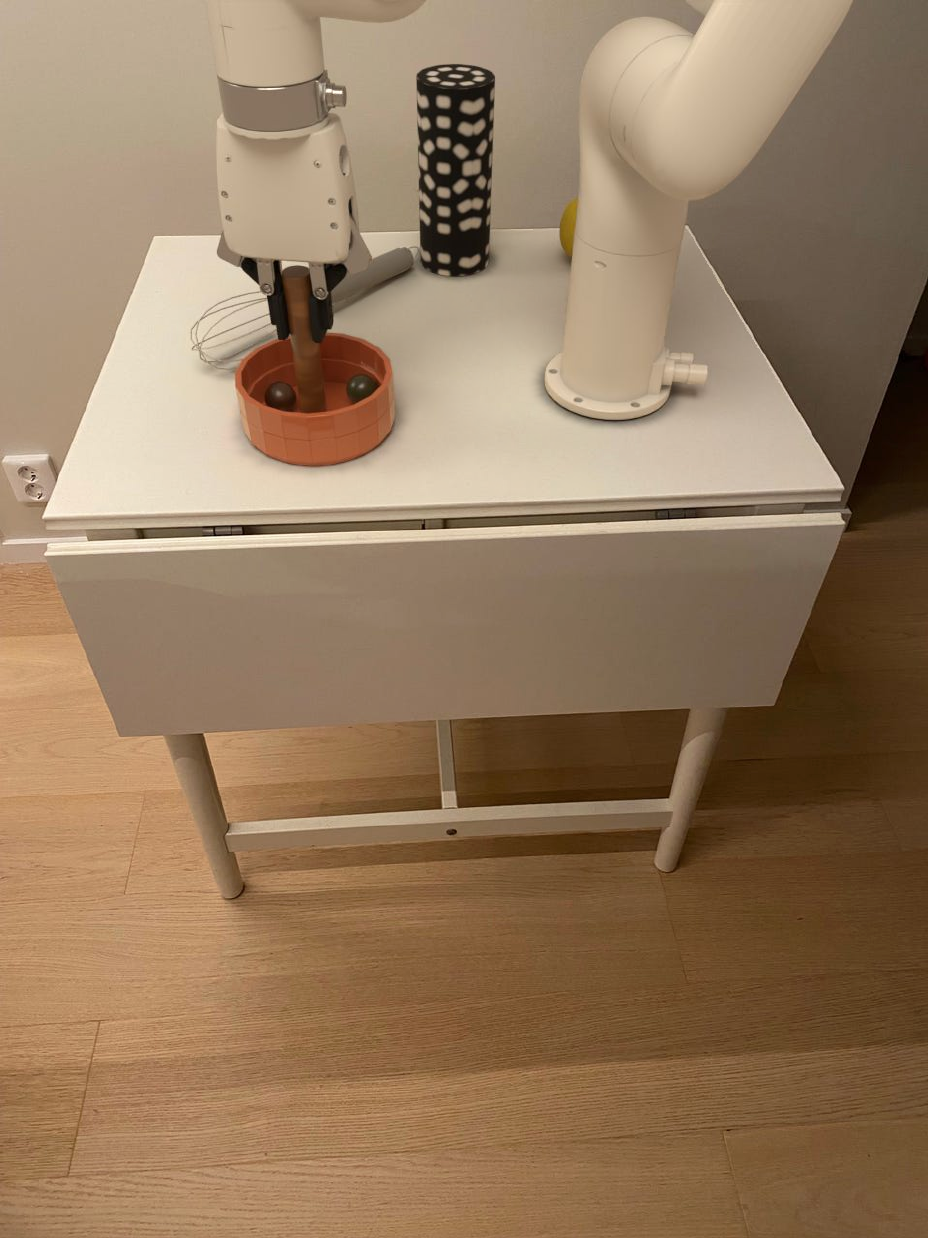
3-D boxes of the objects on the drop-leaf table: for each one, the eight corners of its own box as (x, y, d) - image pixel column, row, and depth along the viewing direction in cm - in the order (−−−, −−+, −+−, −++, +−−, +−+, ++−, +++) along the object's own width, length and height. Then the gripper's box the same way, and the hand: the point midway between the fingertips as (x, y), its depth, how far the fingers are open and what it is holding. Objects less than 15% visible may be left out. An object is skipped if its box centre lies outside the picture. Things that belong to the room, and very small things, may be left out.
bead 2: (361, 407, 90) (384, 388, 90) (359, 415, 88) (383, 395, 87) (340, 384, 89) (363, 364, 88) (338, 391, 87) (361, 370, 86)
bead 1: (304, 404, 89) (294, 374, 87) (296, 414, 86) (285, 383, 85) (275, 411, 89) (265, 380, 88) (266, 421, 87) (255, 390, 85)
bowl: (406, 388, 92) (404, 338, 88) (378, 474, 82) (374, 423, 78) (268, 376, 93) (260, 326, 89) (224, 460, 84) (213, 408, 80)
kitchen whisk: (437, 268, 110) (437, 215, 105) (225, 392, 91) (212, 334, 87) (399, 254, 112) (396, 201, 108) (184, 372, 94) (170, 314, 89)
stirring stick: (330, 410, 86) (314, 265, 76) (323, 425, 85) (306, 279, 74) (305, 408, 86) (285, 263, 76) (298, 422, 85) (277, 277, 75)
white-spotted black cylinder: (497, 250, 113) (504, 68, 99) (477, 280, 108) (481, 92, 93) (433, 240, 115) (431, 60, 100) (410, 269, 110) (404, 83, 95)
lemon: (550, 253, 113) (556, 187, 107) (593, 249, 114) (601, 183, 108) (564, 274, 109) (571, 206, 103) (608, 269, 110) (617, 202, 104)
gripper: (394, 88, 68) (403, 319, 81) (184, 76, 69) (227, 305, 83) (374, 124, 63) (387, 364, 76) (147, 110, 64) (199, 348, 77)
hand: (303, 331), depth 79 cm, fingers closed on stirring stick, 2 cm apart
